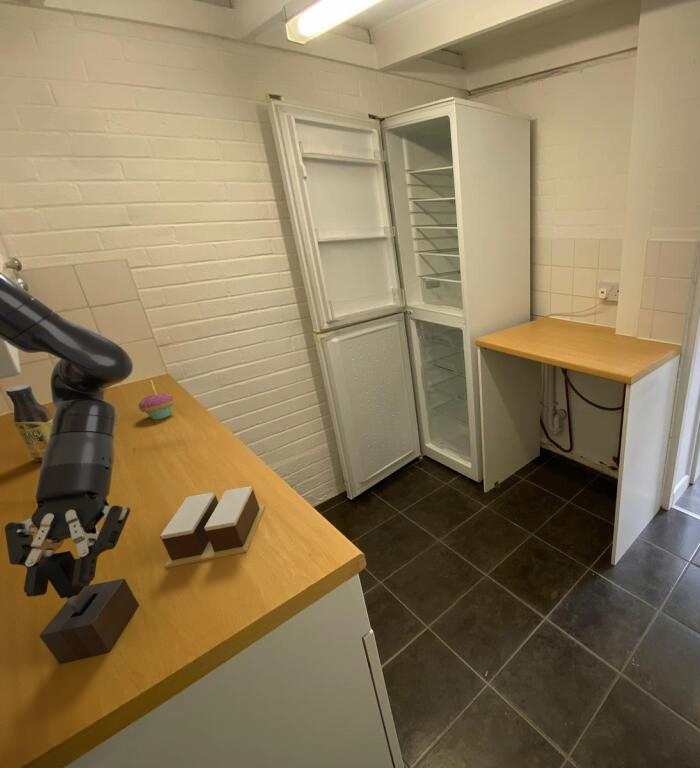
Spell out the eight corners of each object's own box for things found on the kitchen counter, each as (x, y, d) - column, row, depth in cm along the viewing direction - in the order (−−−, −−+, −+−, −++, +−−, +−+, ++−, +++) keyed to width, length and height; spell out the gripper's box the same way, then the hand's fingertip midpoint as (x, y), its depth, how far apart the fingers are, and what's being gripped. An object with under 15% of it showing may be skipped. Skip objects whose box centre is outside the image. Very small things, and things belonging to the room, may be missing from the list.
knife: (100, 625, 64) (54, 552, 58) (115, 622, 64) (71, 548, 58) (87, 643, 61) (38, 568, 55) (103, 640, 62) (56, 565, 56)
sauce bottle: (28, 464, 106) (-14, 393, 98) (52, 450, 112) (14, 383, 104) (54, 463, 106) (15, 392, 99) (77, 449, 112) (41, 382, 104)
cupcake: (151, 412, 132) (136, 377, 127) (182, 407, 134) (169, 373, 130) (139, 425, 124) (123, 388, 119) (173, 419, 127) (159, 383, 122)
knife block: (95, 614, 66) (78, 587, 63) (139, 605, 67) (124, 578, 65) (59, 664, 59) (38, 635, 56) (109, 652, 60) (91, 624, 58)
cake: (196, 519, 85) (185, 494, 83) (265, 506, 88) (257, 482, 86) (165, 568, 74) (152, 540, 71) (246, 552, 77) (236, 525, 74)
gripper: (-5, 471, 58) (-36, 607, 52) (116, 454, 61) (100, 580, 55) (42, 480, 64) (19, 601, 59) (149, 464, 68) (138, 577, 62)
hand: (59, 590), depth 57 cm, fingers open, 4 cm apart
